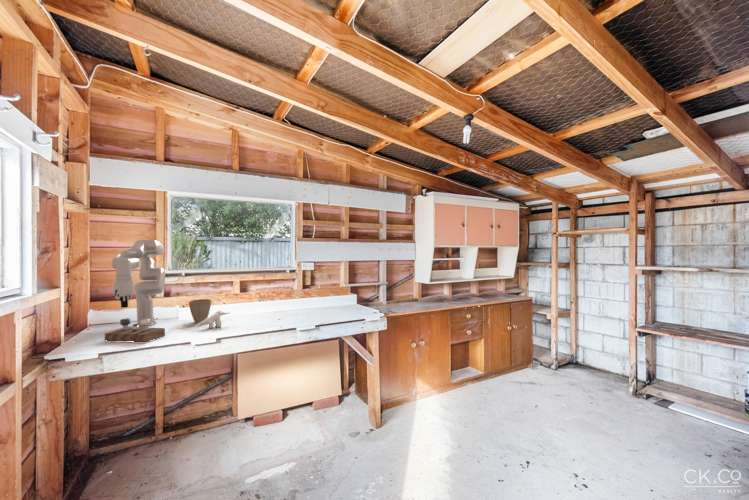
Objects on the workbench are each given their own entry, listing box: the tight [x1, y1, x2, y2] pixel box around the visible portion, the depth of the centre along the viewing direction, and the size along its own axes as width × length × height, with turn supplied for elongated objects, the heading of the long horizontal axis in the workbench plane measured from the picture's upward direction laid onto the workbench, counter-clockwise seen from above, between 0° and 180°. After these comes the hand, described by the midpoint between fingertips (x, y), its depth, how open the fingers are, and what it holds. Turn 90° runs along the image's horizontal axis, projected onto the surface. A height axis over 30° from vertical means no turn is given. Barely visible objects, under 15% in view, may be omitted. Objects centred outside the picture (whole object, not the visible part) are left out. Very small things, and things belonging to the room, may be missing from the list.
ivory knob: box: [140, 319, 150, 332], centre depth 193 cm, size 5×5×8 cm
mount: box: [104, 326, 166, 343], centre depth 194 cm, size 28×14×5 cm, turn 83°
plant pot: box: [188, 298, 212, 324], centre depth 234 cm, size 15×15×16 cm
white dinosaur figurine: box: [193, 309, 231, 329], centre depth 218 cm, size 7×24×11 cm, turn 130°
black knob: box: [119, 317, 131, 331], centre depth 195 cm, size 5×5×8 cm
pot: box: [131, 323, 139, 331], centre depth 194 cm, size 3×3×4 cm
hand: (124, 307), depth 194 cm, fingers closed
